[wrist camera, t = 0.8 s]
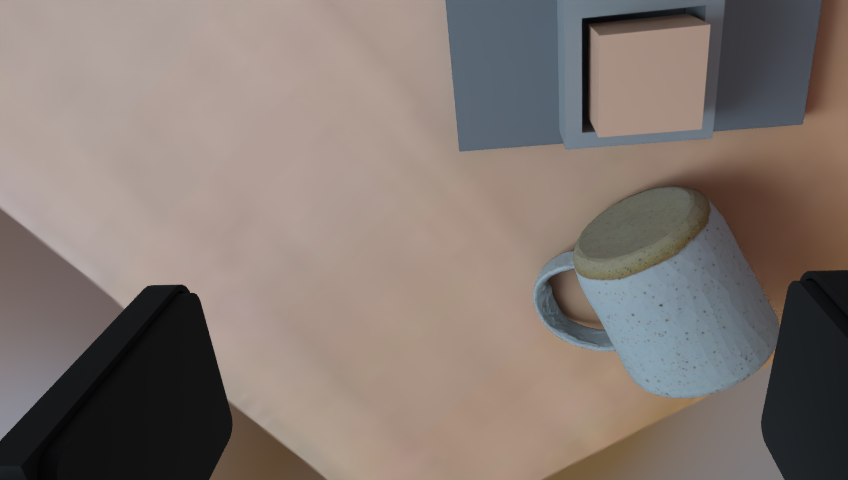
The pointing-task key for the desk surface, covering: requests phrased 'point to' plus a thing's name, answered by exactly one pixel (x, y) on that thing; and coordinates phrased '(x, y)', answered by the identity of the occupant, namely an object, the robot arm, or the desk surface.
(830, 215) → the desk surface
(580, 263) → the ceramic mug
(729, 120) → the keypad
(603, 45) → the terracotta key
